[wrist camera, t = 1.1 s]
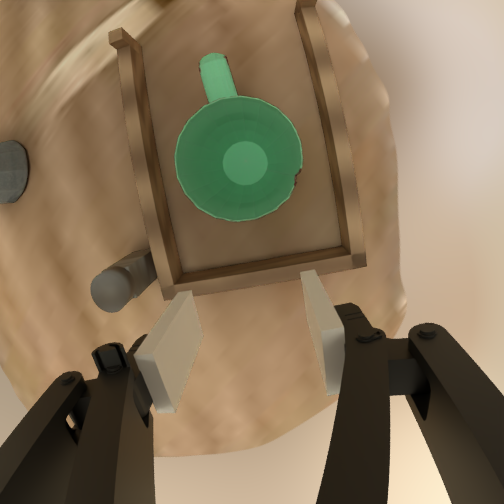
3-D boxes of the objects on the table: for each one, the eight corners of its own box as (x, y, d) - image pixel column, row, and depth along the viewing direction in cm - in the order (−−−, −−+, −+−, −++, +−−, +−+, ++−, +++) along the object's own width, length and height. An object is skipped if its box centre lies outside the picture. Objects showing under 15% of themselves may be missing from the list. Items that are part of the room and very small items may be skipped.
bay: (98, 62, 31) (52, 35, 21) (307, 12, 29) (320, -37, 19) (141, 292, 37) (103, 331, 27) (356, 256, 35) (389, 287, 25)
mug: (302, 195, 34) (318, 203, 24) (213, 220, 35) (194, 237, 25) (264, 68, 31) (265, 30, 21) (178, 94, 32) (147, 66, 22)
